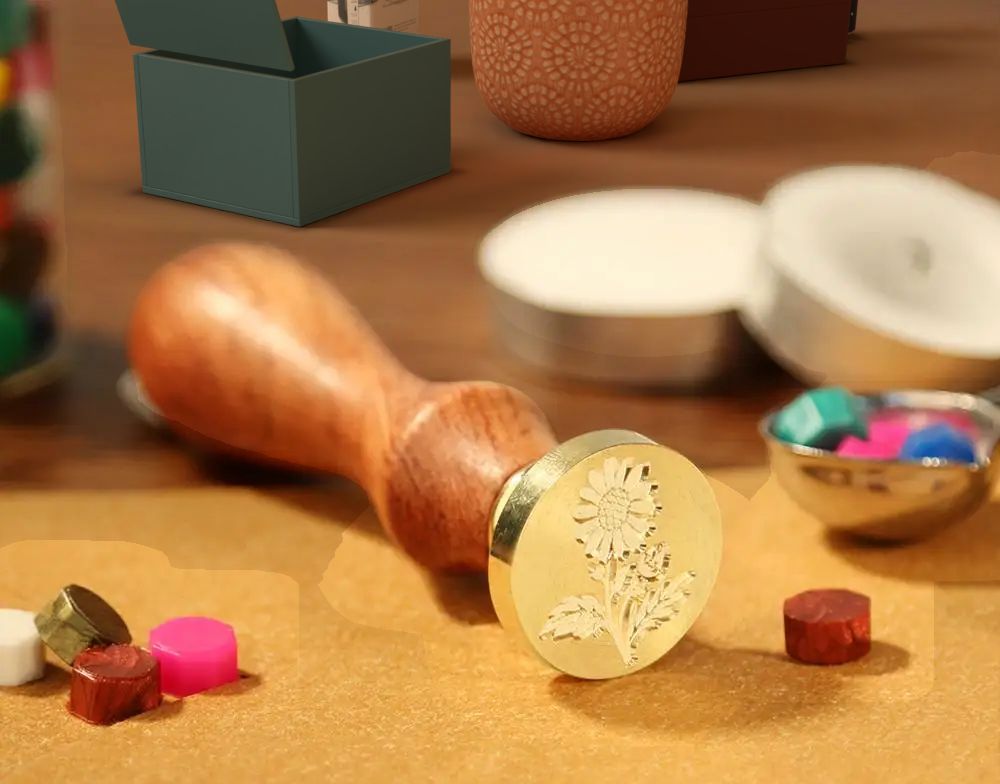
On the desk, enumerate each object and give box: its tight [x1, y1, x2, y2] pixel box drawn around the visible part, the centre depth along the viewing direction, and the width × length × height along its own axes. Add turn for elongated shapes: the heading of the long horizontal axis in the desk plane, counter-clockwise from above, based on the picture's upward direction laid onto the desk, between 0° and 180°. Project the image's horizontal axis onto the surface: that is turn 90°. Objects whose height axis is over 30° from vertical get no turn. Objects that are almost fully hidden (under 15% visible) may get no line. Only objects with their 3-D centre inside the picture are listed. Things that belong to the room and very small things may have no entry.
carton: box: [132, 15, 452, 228], centre depth 127 cm, size 17×14×10 cm
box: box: [678, 0, 851, 82], centre depth 168 cm, size 21×16×10 cm
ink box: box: [326, 0, 421, 34], centre depth 161 cm, size 9×5×12 cm, turn 153°
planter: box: [468, 0, 688, 142], centre depth 141 cm, size 17×17×15 cm
